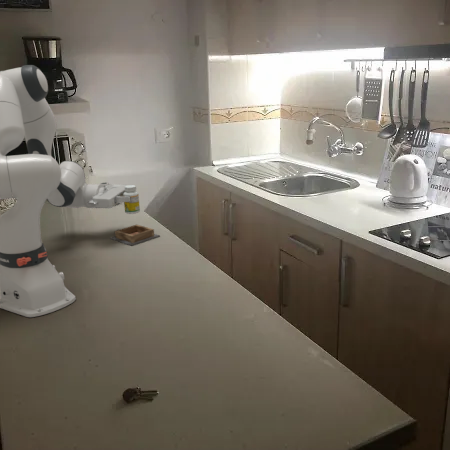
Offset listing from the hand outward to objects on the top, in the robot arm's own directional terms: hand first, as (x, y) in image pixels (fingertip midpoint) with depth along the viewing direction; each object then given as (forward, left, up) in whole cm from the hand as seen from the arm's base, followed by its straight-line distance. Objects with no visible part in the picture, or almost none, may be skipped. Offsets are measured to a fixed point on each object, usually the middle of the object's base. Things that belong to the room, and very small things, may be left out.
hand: (133, 196), depth 184 cm
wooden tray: (+1, 0, -16) cm, 16 cm away
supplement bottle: (+1, 0, -6) cm, 6 cm away
